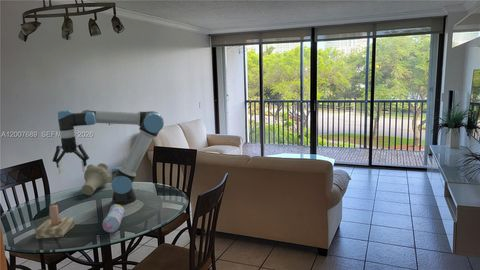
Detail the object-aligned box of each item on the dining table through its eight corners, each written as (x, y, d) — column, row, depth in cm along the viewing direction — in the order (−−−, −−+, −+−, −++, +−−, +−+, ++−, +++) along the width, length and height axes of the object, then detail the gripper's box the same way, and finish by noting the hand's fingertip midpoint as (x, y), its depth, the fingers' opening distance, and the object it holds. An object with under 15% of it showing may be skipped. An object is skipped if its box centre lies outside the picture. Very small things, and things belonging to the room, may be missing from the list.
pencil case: (110, 218, 200) (108, 203, 198) (125, 217, 201) (124, 201, 199) (102, 235, 179) (100, 218, 178) (120, 233, 181) (118, 216, 179)
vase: (98, 180, 231) (112, 160, 256) (65, 177, 230) (83, 157, 255) (99, 206, 240) (113, 185, 265) (68, 203, 239) (85, 182, 264)
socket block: (74, 225, 193) (73, 217, 192) (63, 236, 179) (62, 228, 178) (49, 226, 192) (48, 219, 191) (36, 238, 178) (34, 230, 178)
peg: (61, 229, 188) (59, 204, 185) (58, 232, 184) (55, 207, 181) (54, 229, 188) (51, 205, 185) (50, 232, 184) (47, 207, 181)
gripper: (92, 134, 203) (96, 169, 207) (49, 136, 202) (54, 171, 206) (87, 137, 196) (91, 172, 200) (42, 139, 195) (48, 175, 198)
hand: (72, 172), depth 203 cm, fingers open, 13 cm apart
